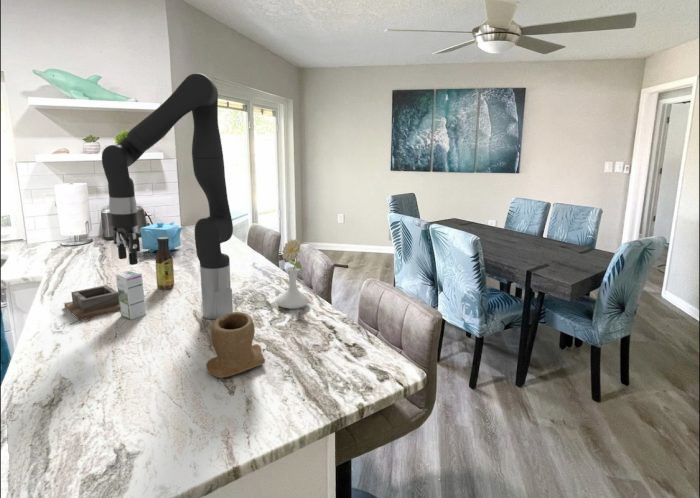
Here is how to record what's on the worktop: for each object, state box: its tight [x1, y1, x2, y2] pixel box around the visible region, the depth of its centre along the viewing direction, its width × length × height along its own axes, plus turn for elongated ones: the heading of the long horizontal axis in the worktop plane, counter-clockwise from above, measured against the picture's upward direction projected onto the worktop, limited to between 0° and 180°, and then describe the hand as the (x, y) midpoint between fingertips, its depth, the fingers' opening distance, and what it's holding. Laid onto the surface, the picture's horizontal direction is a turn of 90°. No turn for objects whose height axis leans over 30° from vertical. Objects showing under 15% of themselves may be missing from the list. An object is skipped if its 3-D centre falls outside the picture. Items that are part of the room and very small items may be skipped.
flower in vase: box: [276, 238, 310, 310], centre depth 151 cm, size 13×11×25 cm
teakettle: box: [139, 221, 186, 253], centre depth 221 cm, size 19×19×15 cm
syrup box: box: [115, 270, 147, 320], centre depth 140 cm, size 6×6×14 cm
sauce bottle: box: [155, 237, 175, 291], centre depth 166 cm, size 6×6×20 cm
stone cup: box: [205, 311, 266, 379], centre depth 109 cm, size 15×12×15 cm
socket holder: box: [64, 284, 120, 321], centre depth 147 cm, size 15×15×6 cm
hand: (128, 261), depth 138 cm, fingers open, 8 cm apart
